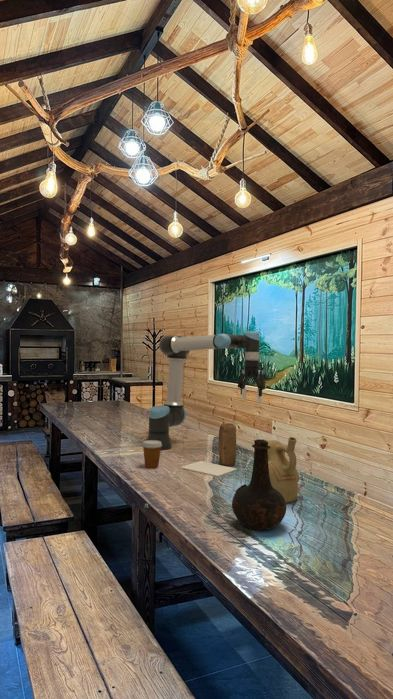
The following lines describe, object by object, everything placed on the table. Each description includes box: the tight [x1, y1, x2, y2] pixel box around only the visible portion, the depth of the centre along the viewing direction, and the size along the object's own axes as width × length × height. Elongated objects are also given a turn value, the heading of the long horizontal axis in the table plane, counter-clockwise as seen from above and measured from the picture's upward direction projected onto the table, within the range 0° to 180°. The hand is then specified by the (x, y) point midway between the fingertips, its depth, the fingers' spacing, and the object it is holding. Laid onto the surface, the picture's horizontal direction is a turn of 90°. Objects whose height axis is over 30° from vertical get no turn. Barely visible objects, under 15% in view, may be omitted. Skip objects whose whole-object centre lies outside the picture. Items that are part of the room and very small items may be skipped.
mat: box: [179, 460, 238, 478], centre depth 216 cm, size 22×16×1 cm
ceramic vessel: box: [268, 436, 300, 504], centre depth 176 cm, size 17×20×25 cm
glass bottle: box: [231, 439, 287, 531], centre depth 148 cm, size 18×18×28 cm
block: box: [218, 422, 237, 467], centre depth 226 cm, size 11×8×20 cm
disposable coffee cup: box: [142, 439, 162, 469], centre depth 217 cm, size 10×10×12 cm
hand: (251, 401), depth 244 cm, fingers open, 9 cm apart
